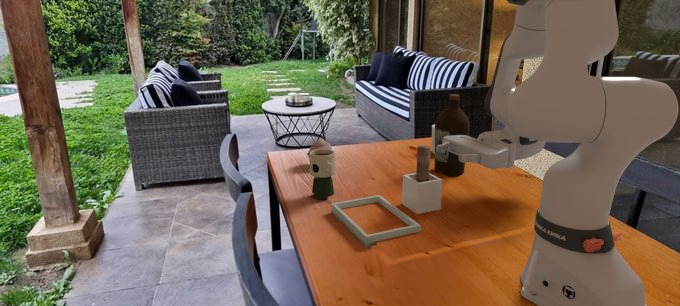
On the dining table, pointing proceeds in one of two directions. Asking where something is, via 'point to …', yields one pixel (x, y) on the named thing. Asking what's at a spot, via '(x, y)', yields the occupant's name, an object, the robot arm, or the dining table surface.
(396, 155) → the dining table surface
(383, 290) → the dining table surface
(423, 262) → the dining table surface
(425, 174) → the walnut pin
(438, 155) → the olive oil
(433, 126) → the white cup
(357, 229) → the sage tray
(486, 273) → the dining table surface
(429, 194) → the white square sleeve
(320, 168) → the character mug
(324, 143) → the cupcake
